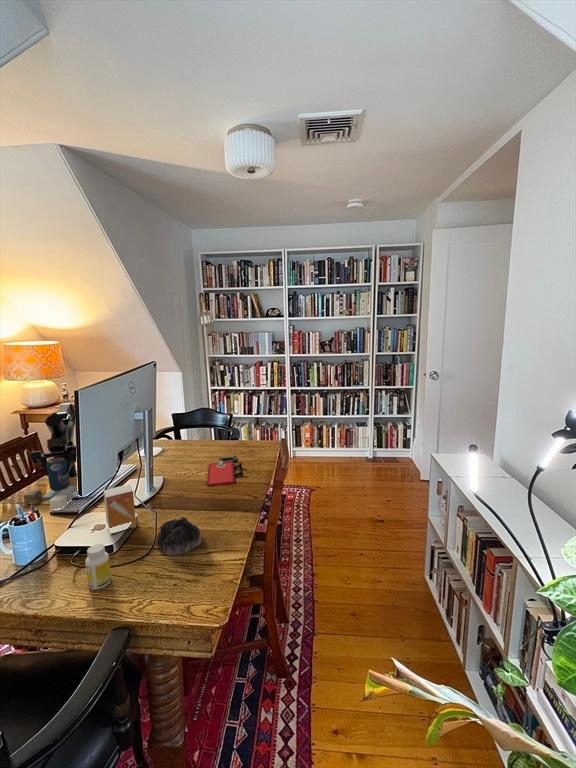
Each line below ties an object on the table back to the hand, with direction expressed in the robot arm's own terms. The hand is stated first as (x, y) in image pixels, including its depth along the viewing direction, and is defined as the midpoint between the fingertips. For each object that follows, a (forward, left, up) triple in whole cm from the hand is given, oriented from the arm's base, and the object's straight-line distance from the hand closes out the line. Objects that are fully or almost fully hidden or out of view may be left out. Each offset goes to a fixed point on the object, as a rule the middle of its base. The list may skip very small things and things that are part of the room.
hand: (57, 473), depth 145 cm
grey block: (+6, +5, -9) cm, 12 cm away
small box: (+28, +34, -9) cm, 45 cm away
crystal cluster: (+40, +55, -9) cm, 69 cm away
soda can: (-1, 0, -7) cm, 7 cm away
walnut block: (+5, -7, -9) cm, 13 cm away
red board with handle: (-16, +64, -10) cm, 66 cm away
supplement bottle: (+55, +38, -9) cm, 67 cm away
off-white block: (+11, +5, -9) cm, 15 cm away
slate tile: (-1, 0, -9) cm, 9 cm away
